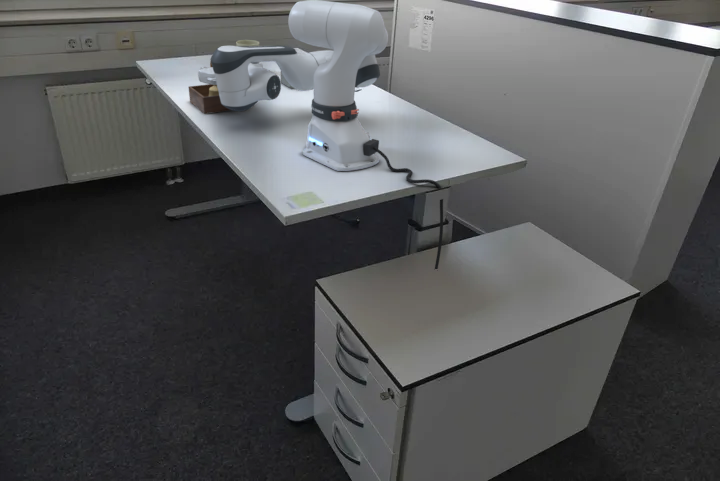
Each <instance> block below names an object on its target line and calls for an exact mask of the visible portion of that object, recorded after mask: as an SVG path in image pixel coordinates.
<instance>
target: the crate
mask: <svg viewBox="0 0 720 481" xmlns="http://www.w3.org/2000/svg"><path fill="white" fill-rule="evenodd" d="M211 87H213V85H211V84H207V83H206V84H198V85H189V86H188V96H189V102H190V104H192V105H193V106H194V107H195V108H197V109H198V110H199V111H200V112H201V113H203V114H204V115H206V114H215V113H221V112H228V111H231V110H230V109H228V108H226V107H224V106H223V105H222V104H221V100H220V96H219V95H216V96H209V89H210V88H211Z"/></svg>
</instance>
